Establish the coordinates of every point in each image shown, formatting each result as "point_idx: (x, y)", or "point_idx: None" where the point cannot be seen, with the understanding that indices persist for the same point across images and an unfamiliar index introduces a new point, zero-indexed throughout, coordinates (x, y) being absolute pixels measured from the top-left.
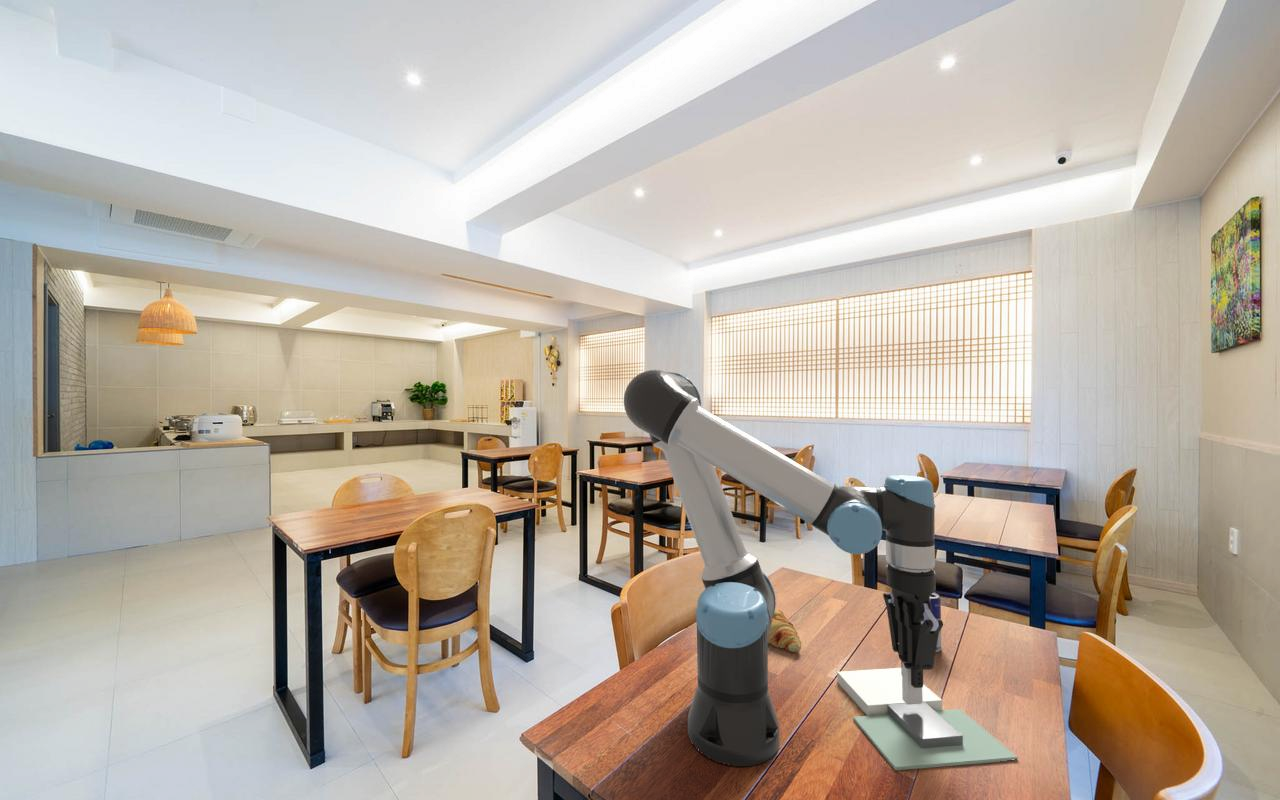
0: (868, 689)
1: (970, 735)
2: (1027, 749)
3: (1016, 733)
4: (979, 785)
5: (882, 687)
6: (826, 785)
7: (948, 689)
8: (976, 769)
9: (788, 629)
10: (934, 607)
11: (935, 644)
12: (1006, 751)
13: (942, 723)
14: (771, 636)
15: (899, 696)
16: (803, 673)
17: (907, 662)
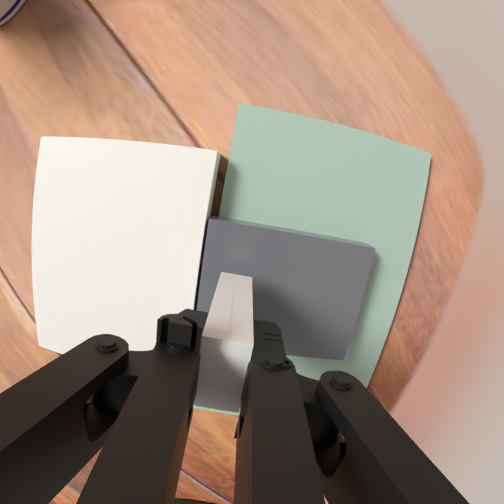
0: (116, 335)
1: (345, 186)
2: (406, 93)
3: (356, 54)
4: (439, 305)
5: (111, 289)
6: (323, 494)
7: (141, 52)
8: (416, 273)
9: None
10: None
11: (455, 502)
12: (413, 159)
13: (317, 258)
14: None
15: (163, 276)
16: (27, 373)
17: (200, 384)
